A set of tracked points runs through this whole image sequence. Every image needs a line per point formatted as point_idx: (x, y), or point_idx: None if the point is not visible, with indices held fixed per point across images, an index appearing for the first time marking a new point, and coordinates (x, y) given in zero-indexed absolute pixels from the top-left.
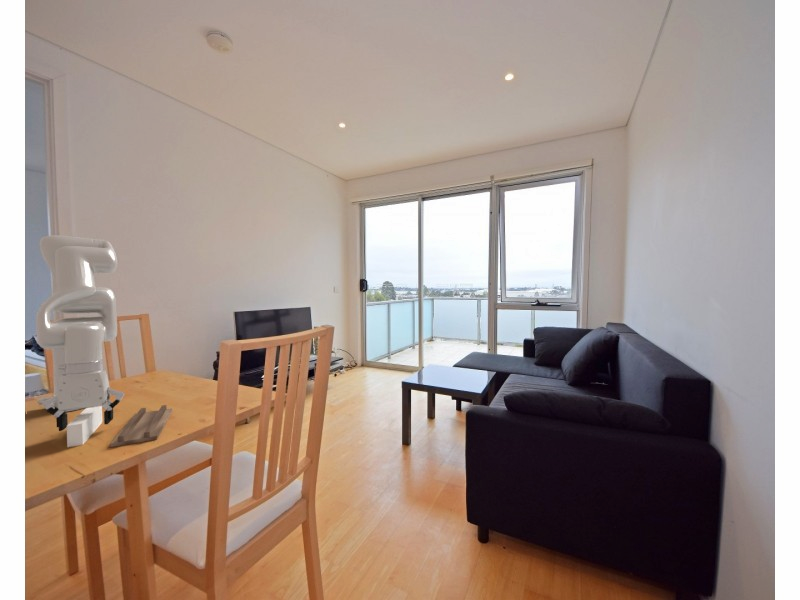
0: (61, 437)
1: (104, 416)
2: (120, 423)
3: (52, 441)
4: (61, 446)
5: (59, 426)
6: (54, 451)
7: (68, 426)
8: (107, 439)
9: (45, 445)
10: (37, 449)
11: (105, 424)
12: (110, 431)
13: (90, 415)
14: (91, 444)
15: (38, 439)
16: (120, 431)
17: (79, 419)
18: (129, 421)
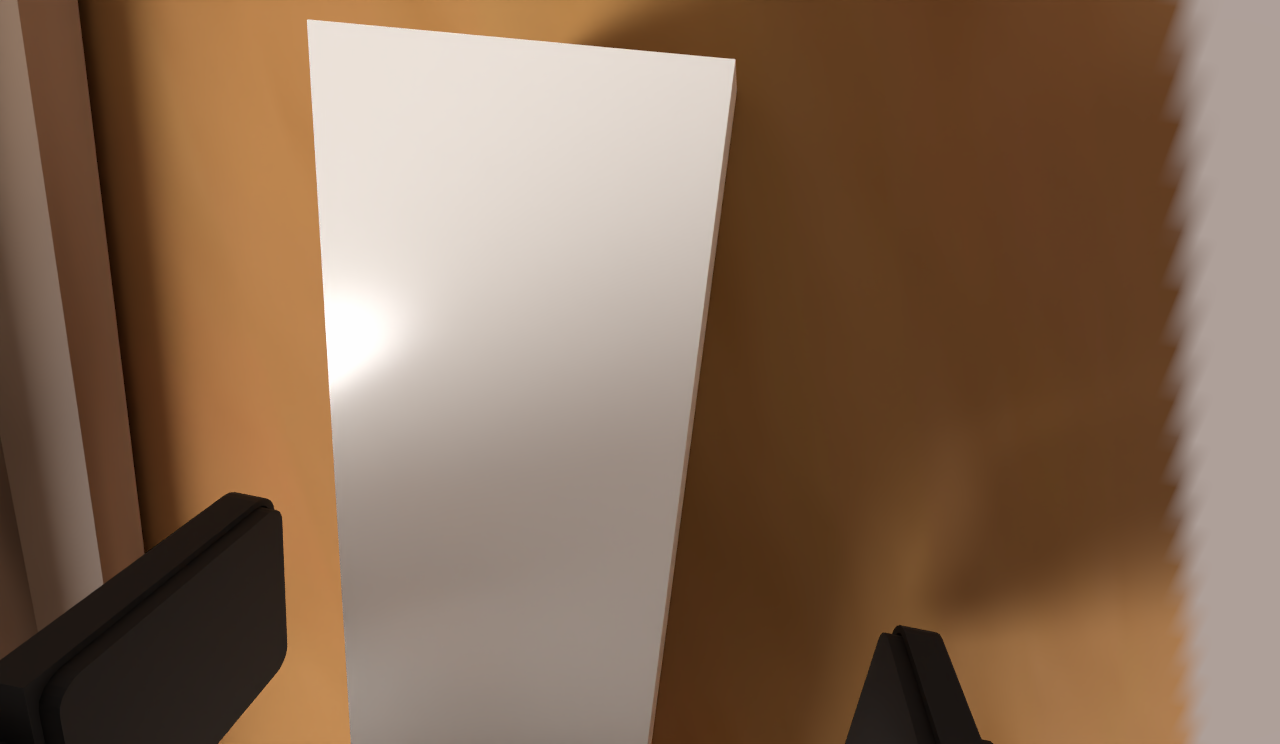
0: (882, 625)
1: (154, 605)
2: (283, 685)
3: (975, 541)
4: (832, 234)
5: (950, 695)
6: (900, 45)
7: (687, 60)
8: (244, 123)
9: (1049, 432)
10: (1142, 323)
11: (268, 501)
12: (312, 460)
13: (349, 694)
14: (416, 27)
15: (1146, 732)
16: (39, 183)
17: (515, 523)
18: (92, 582)
